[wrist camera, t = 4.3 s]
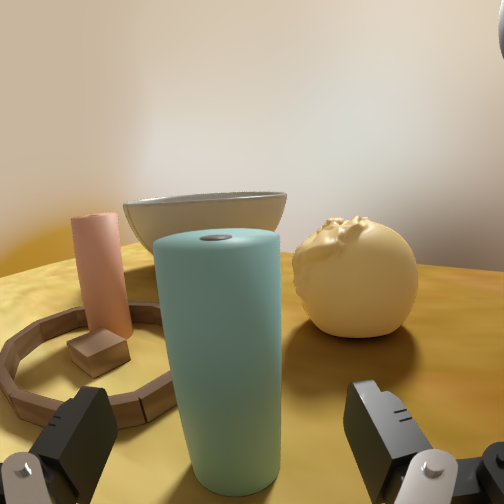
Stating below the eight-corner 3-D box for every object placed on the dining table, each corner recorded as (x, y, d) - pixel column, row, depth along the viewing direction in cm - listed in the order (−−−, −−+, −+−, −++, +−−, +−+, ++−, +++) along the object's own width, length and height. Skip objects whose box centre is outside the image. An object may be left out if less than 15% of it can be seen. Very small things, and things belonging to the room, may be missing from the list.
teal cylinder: (227, 426, 17) (209, 226, 15) (295, 453, 15) (300, 231, 12) (175, 470, 14) (127, 244, 11) (248, 510, 11) (227, 256, 9)
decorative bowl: (98, 280, 49) (89, 206, 46) (192, 247, 72) (189, 194, 70) (240, 306, 37) (235, 200, 34) (308, 255, 60) (307, 191, 58)
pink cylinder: (117, 321, 33) (102, 212, 31) (142, 331, 31) (126, 212, 28) (83, 334, 29) (63, 218, 27) (105, 348, 27) (83, 218, 24)
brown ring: (123, 306, 37) (121, 291, 37) (252, 348, 27) (251, 328, 27) (-14, 358, 22) (-20, 340, 22) (60, 475, 12) (46, 452, 11)
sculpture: (317, 298, 38) (318, 208, 36) (415, 310, 32) (423, 213, 30) (274, 338, 29) (271, 220, 27) (404, 362, 23) (421, 228, 20)
